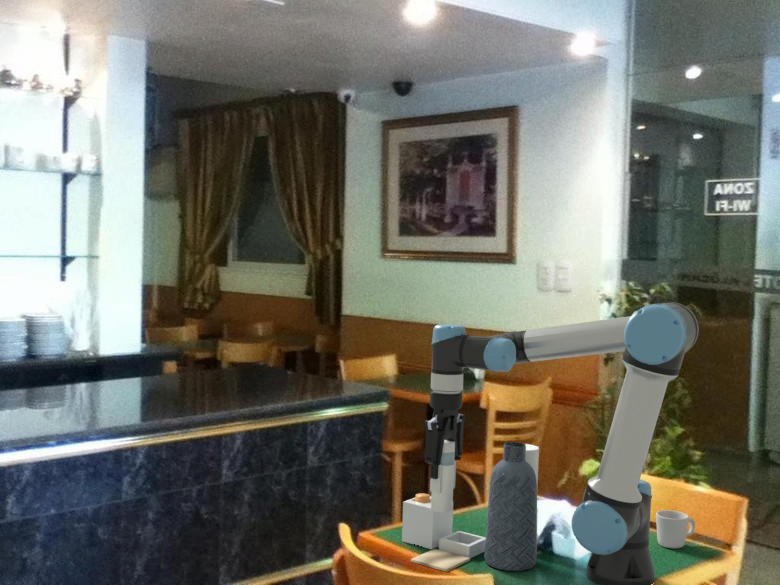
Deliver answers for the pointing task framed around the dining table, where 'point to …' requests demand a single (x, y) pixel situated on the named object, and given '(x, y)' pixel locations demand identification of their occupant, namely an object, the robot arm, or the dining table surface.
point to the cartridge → (445, 480)
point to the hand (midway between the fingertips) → (442, 489)
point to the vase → (512, 512)
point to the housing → (437, 530)
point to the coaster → (440, 560)
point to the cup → (673, 528)
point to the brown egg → (422, 498)
